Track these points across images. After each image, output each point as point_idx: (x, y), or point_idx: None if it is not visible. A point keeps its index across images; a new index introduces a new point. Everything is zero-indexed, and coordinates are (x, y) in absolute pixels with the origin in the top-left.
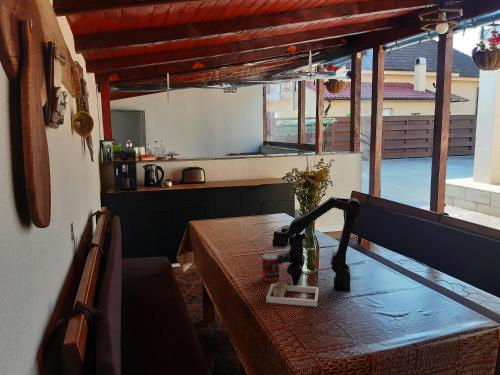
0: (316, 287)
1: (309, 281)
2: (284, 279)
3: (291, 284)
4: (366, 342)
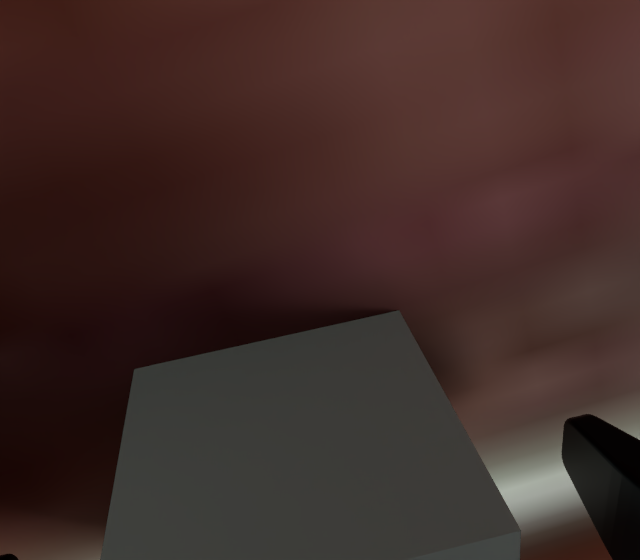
0: None
1: (557, 552)
2: (623, 41)
3: (132, 435)
4: None
